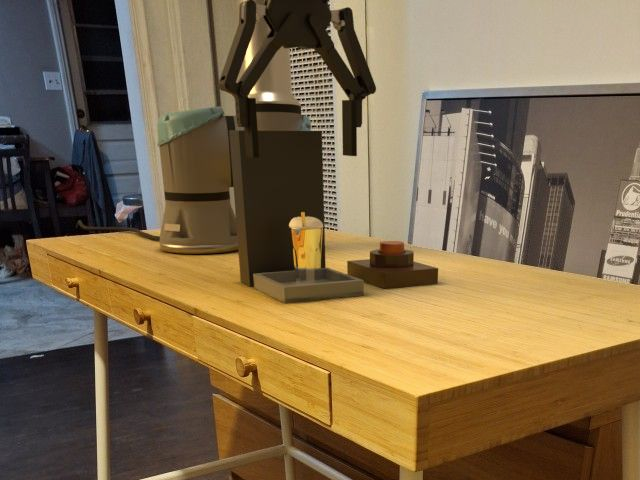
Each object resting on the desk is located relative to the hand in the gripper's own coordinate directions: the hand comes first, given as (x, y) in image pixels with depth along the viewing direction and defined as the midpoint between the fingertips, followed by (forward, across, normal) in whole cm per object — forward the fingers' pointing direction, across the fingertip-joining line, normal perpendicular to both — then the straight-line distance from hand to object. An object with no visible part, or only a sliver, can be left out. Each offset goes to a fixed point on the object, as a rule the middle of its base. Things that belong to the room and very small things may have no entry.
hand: (302, 156), depth 98 cm
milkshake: (+17, 0, 0) cm, 17 cm away
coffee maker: (+17, 0, +2) cm, 17 cm away
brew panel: (+17, +15, +2) cm, 23 cm away
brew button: (+13, +15, +3) cm, 20 cm away
